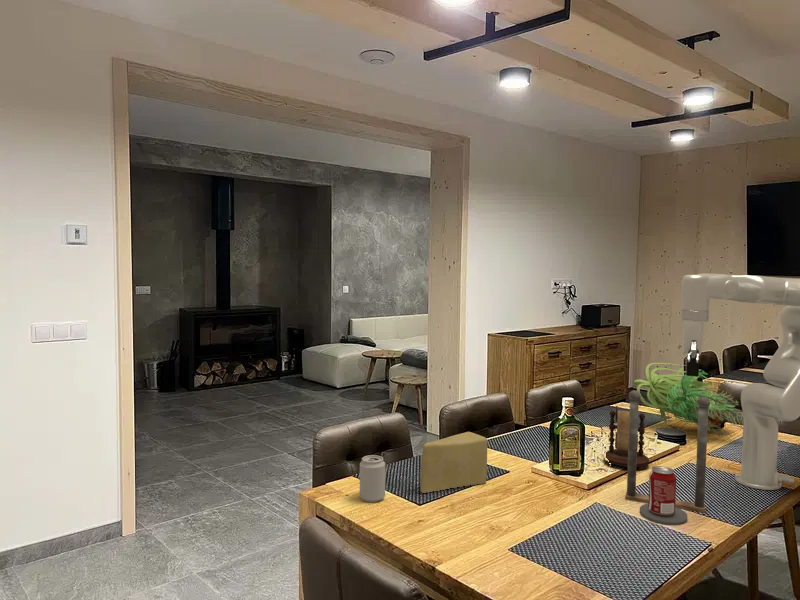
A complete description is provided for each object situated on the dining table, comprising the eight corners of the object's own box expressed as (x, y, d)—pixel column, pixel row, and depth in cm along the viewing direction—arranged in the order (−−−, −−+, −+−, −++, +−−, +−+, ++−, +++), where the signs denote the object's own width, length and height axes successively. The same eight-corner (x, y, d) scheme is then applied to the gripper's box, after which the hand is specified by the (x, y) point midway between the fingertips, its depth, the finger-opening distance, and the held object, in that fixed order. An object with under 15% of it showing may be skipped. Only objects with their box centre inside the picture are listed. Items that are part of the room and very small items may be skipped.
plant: (766, 429, 224) (671, 379, 223) (701, 476, 246) (614, 431, 245) (749, 367, 251) (664, 323, 250) (693, 415, 273) (614, 374, 272)
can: (389, 495, 178) (389, 455, 178) (378, 505, 172) (378, 463, 171) (367, 491, 181) (367, 452, 181) (354, 500, 175) (354, 459, 174)
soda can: (678, 518, 162) (679, 474, 161) (651, 516, 163) (652, 473, 162) (671, 508, 168) (672, 466, 167) (645, 506, 169) (646, 464, 168)
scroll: (601, 467, 204) (603, 409, 203) (604, 454, 218) (606, 400, 216) (648, 474, 198) (650, 414, 197) (648, 460, 212) (650, 404, 211)
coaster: (687, 511, 169) (687, 507, 169) (687, 528, 158) (687, 524, 158) (641, 503, 174) (641, 500, 174) (638, 519, 163) (638, 516, 163)
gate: (705, 508, 171) (710, 396, 169) (705, 512, 168) (710, 398, 166) (625, 495, 180) (629, 388, 178) (624, 499, 177) (628, 391, 175)
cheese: (431, 499, 176) (432, 449, 175) (412, 489, 184) (412, 440, 183) (488, 484, 188) (489, 436, 187) (467, 474, 196) (468, 429, 195)
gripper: (681, 313, 189) (678, 367, 190) (680, 318, 173) (678, 377, 175) (707, 314, 186) (705, 369, 187) (709, 319, 170) (707, 379, 171)
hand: (692, 373), depth 181 cm, fingers open, 9 cm apart
